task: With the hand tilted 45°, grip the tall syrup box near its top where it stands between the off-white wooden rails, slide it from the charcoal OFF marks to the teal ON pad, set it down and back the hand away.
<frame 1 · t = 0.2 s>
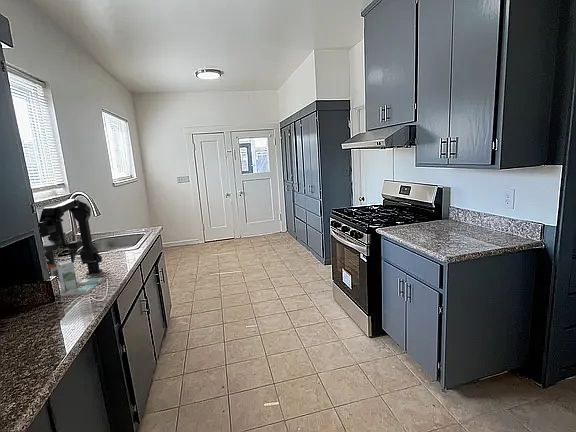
hand: (63, 263, 164), 15 cm above the table, tool pointing down, fingers open, 9 cm apart
supplement bottle: (52, 279, 187), on the table
syrup box: (69, 289, 170), on the table
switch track: (78, 288, 170), on the table
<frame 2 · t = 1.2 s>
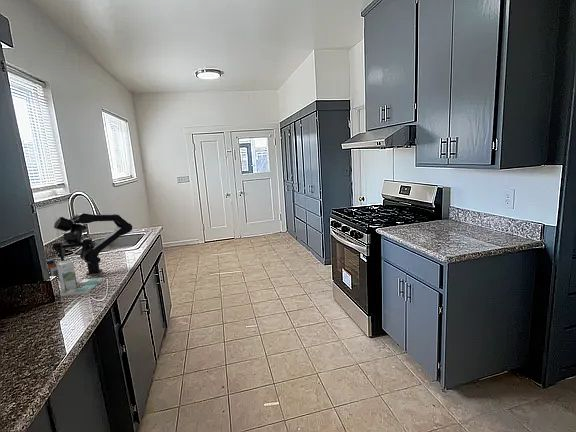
hand: (71, 259, 175), 13 cm above the table, tool tilted 45°, fingers open, 9 cm apart
nothing on the table moved.
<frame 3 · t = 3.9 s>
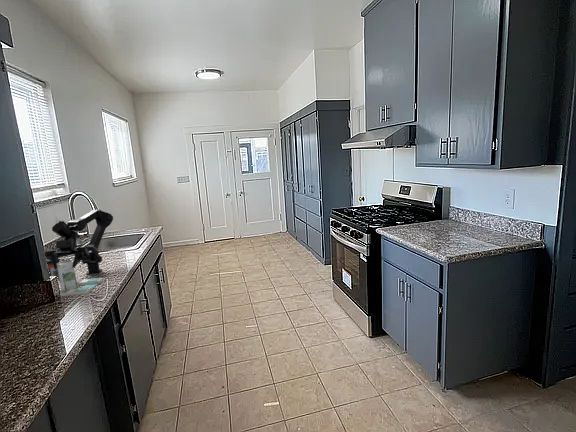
hand: (64, 268, 166), 12 cm above the table, tool tilted 45°, fingers closed on syrup box, 8 cm apart
syrup box: (69, 289, 170), on the table, touching gripper
everything else where it was.
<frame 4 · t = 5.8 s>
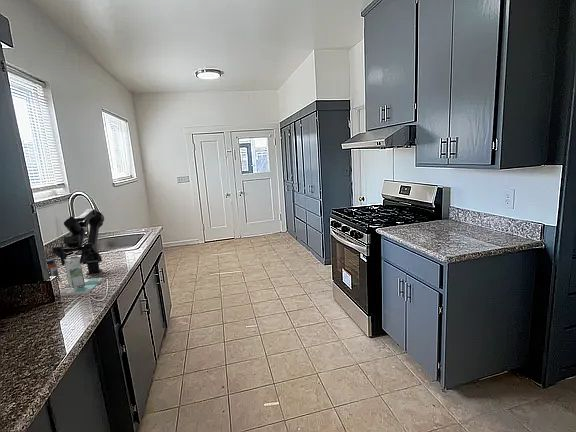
hand: (71, 264, 166), 13 cm above the table, tool tilted 45°, fingers closed on syrup box, 8 cm apart
syrup box: (77, 285, 170), point 1 cm above the table, touching gripper
everything else where it was.
when the fingers open (12 cm above the table, at t = 7.8 s): syrup box stays where it is, resting on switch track.
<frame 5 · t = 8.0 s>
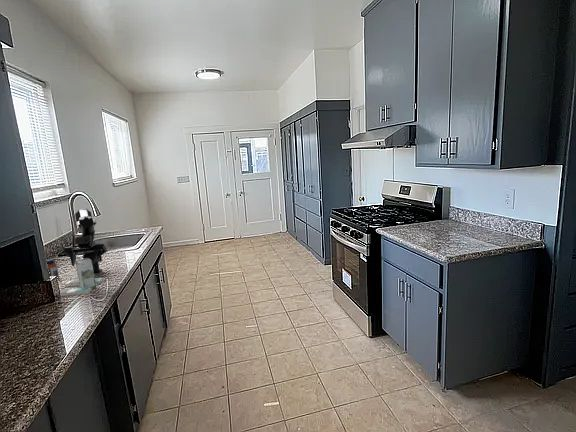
hand: (83, 264, 167), 13 cm above the table, tool tilted 45°, fingers open, 9 cm apart
syrup box: (88, 287, 171), resting on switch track
everything else where it was.
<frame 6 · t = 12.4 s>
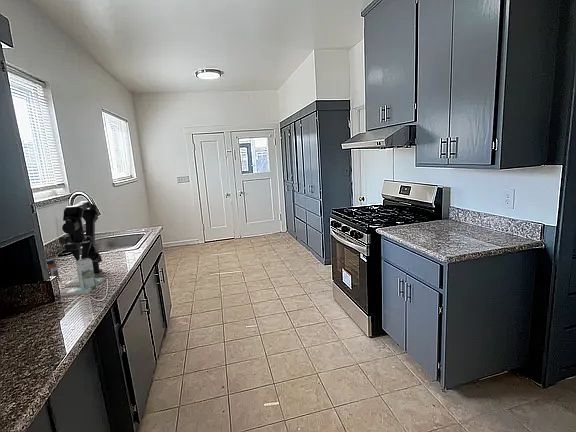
hand: (82, 258, 177), 13 cm above the table, tool pointing down, fingers open, 9 cm apart
nothing on the table moved.
at the end: syrup box inside the target area on the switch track (0.4 cm from its centre), point 0.0 cm above the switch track's base; syrup box tilted 0°; the gripper is holding nothing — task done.
